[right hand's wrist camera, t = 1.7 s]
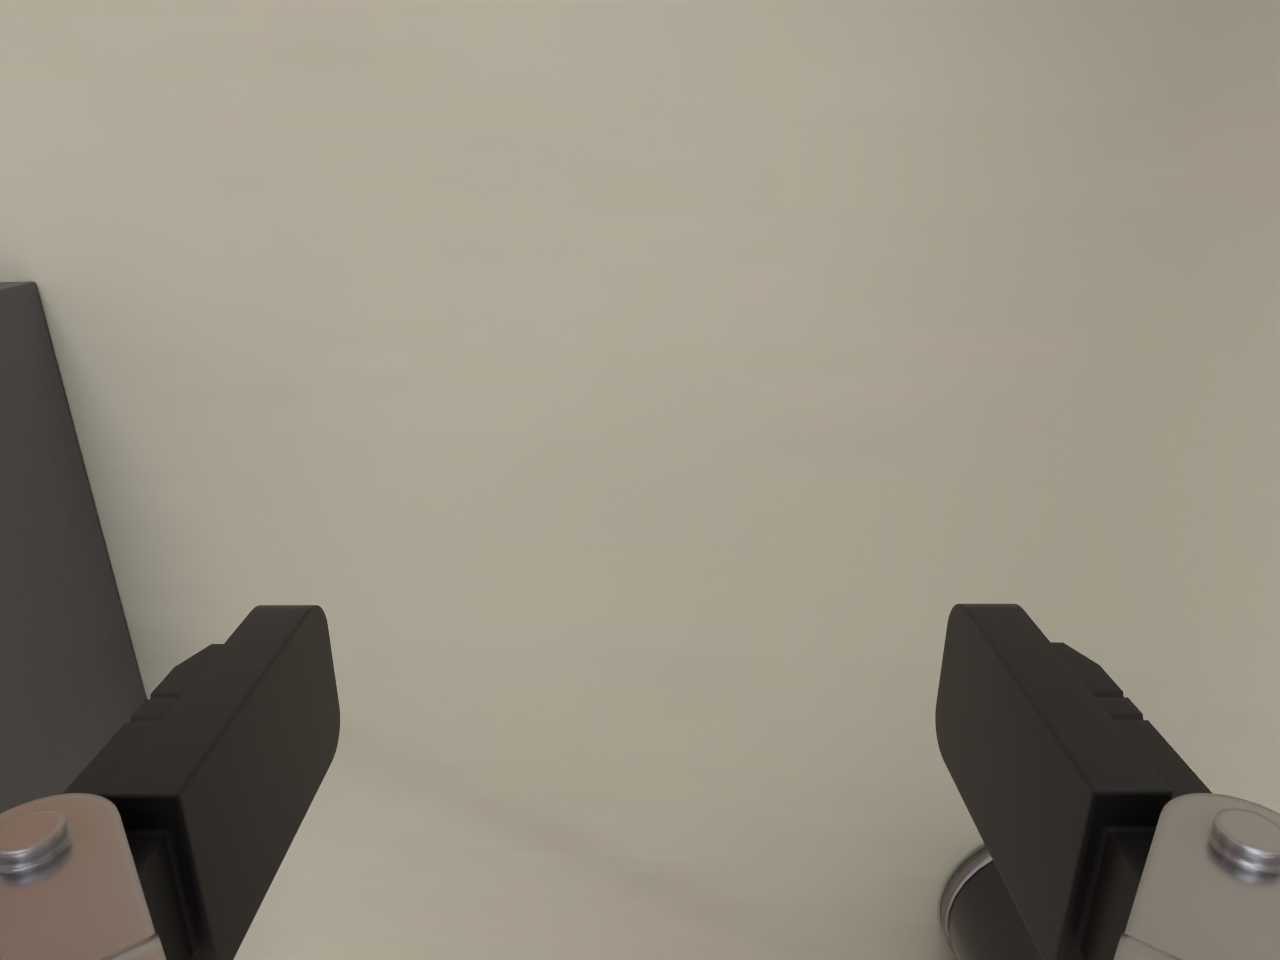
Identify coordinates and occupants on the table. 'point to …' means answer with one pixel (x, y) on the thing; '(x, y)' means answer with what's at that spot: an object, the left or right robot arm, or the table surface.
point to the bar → (51, 578)
